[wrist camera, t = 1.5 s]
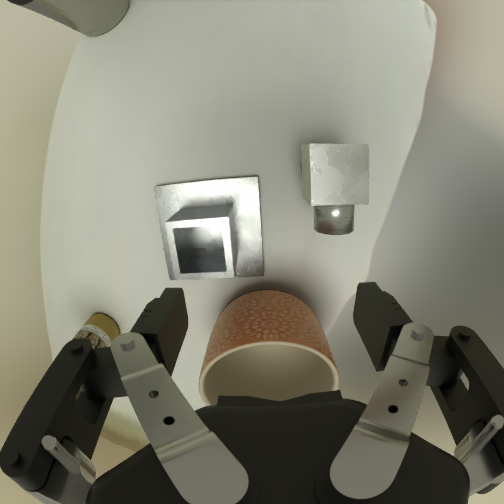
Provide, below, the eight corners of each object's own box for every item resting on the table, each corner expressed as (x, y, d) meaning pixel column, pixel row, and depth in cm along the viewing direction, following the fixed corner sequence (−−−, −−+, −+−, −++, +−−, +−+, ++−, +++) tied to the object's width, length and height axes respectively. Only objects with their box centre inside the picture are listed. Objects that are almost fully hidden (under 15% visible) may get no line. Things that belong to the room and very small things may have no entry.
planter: (289, 369, 48) (297, 436, 34) (201, 342, 46) (184, 411, 32) (336, 296, 42) (366, 361, 28) (235, 259, 40) (224, 320, 26)
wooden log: (86, 309, 45) (14, 403, 21) (116, 313, 45) (47, 419, 21) (95, 338, 47) (36, 431, 24) (124, 343, 47) (69, 447, 24)
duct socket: (156, 185, 37) (133, 196, 29) (257, 176, 36) (257, 183, 29) (171, 277, 42) (155, 304, 34) (263, 272, 41) (264, 300, 34)
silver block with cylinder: (293, 144, 34) (309, 143, 24) (337, 144, 34) (368, 144, 24) (296, 212, 38) (311, 237, 27) (338, 210, 37) (367, 234, 27)
